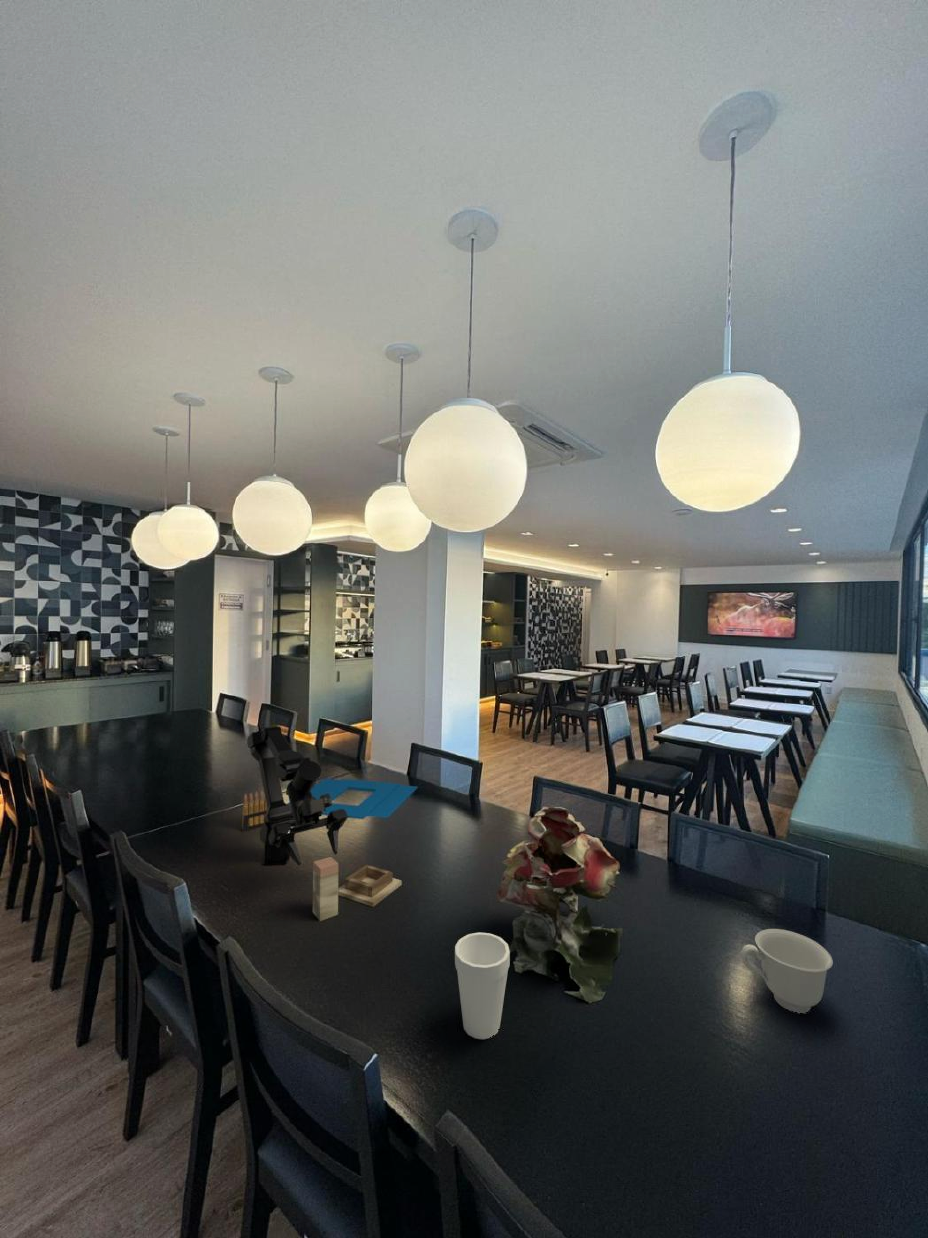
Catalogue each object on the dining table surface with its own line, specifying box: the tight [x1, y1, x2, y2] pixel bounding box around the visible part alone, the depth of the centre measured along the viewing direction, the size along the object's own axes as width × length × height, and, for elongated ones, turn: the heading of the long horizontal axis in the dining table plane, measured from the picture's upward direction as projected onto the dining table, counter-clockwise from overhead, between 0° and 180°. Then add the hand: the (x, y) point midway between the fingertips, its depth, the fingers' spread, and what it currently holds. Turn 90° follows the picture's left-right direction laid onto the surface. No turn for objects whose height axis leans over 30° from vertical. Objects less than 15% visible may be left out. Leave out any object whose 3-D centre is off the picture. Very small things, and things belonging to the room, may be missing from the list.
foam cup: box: [454, 931, 511, 1040], centre depth 88 cm, size 10×9×13 cm
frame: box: [286, 778, 419, 820], centre depth 199 cm, size 42×36×2 cm
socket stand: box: [338, 864, 403, 908], centre depth 132 cm, size 12×12×4 cm
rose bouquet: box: [497, 806, 623, 1005], centre depth 110 cm, size 26×29×30 cm
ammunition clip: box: [240, 789, 267, 832], centre depth 171 cm, size 11×2×12 cm, turn 131°
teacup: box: [740, 928, 834, 1014], centre depth 95 cm, size 12×15×10 cm
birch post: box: [312, 856, 339, 922], centre depth 121 cm, size 4×4×12 cm
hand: (318, 859), depth 125 cm, fingers open, 9 cm apart
